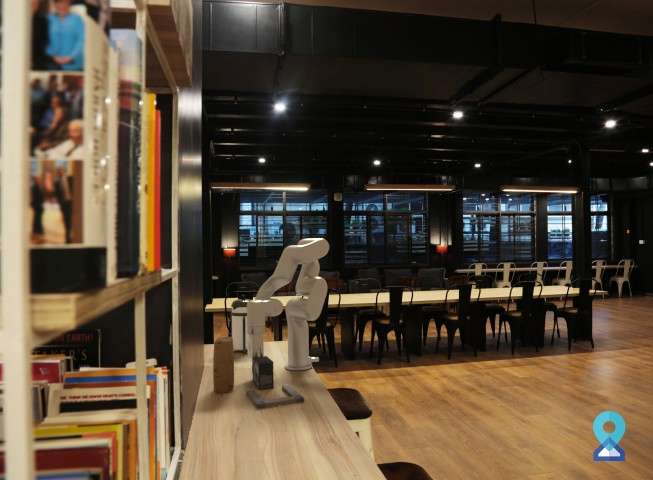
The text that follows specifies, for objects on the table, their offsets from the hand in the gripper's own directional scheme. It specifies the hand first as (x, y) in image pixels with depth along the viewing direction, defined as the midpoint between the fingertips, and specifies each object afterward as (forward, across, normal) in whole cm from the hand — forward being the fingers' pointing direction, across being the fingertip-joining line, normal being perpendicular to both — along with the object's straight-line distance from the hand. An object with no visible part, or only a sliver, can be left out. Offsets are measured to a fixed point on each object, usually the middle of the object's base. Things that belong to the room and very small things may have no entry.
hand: (256, 373), depth 188 cm
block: (+2, +9, -15) cm, 18 cm away
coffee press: (+2, -55, +7) cm, 55 cm away
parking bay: (+2, +27, 0) cm, 27 cm away
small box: (+3, +10, 0) cm, 10 cm away
